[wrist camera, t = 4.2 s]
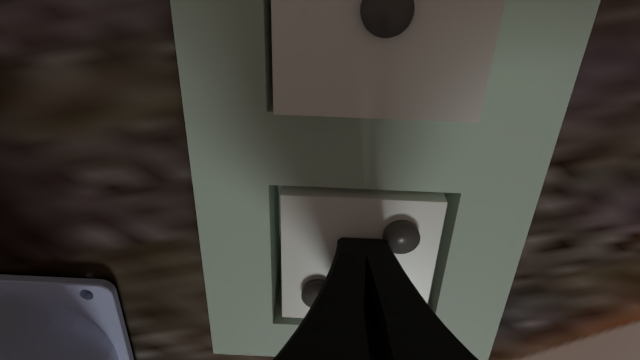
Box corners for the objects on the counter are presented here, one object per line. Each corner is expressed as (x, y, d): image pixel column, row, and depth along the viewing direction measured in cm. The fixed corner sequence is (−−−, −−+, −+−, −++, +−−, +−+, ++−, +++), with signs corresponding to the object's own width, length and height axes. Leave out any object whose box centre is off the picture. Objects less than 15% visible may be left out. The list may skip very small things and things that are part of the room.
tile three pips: (288, 274, 15) (281, 321, 13) (287, 162, 13) (279, 198, 11) (413, 280, 15) (424, 328, 13) (432, 168, 13) (449, 206, 11)
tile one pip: (283, 87, 11) (272, 117, 9) (281, -121, 9) (266, -139, 7) (456, 94, 11) (481, 126, 9) (494, -114, 9) (538, -130, 7)
